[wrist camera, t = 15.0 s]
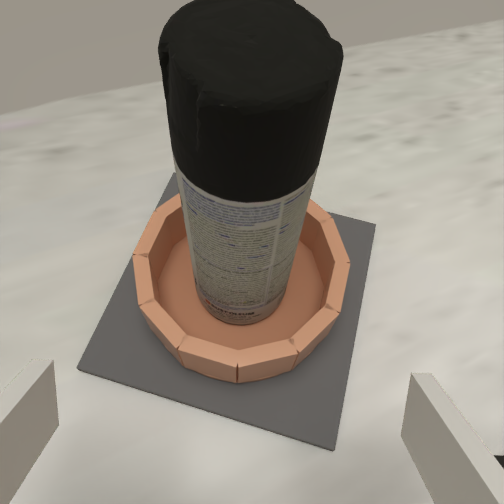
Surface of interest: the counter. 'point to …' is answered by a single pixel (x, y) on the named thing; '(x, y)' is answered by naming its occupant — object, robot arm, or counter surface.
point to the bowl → (229, 335)
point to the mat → (248, 393)
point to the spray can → (246, 141)
